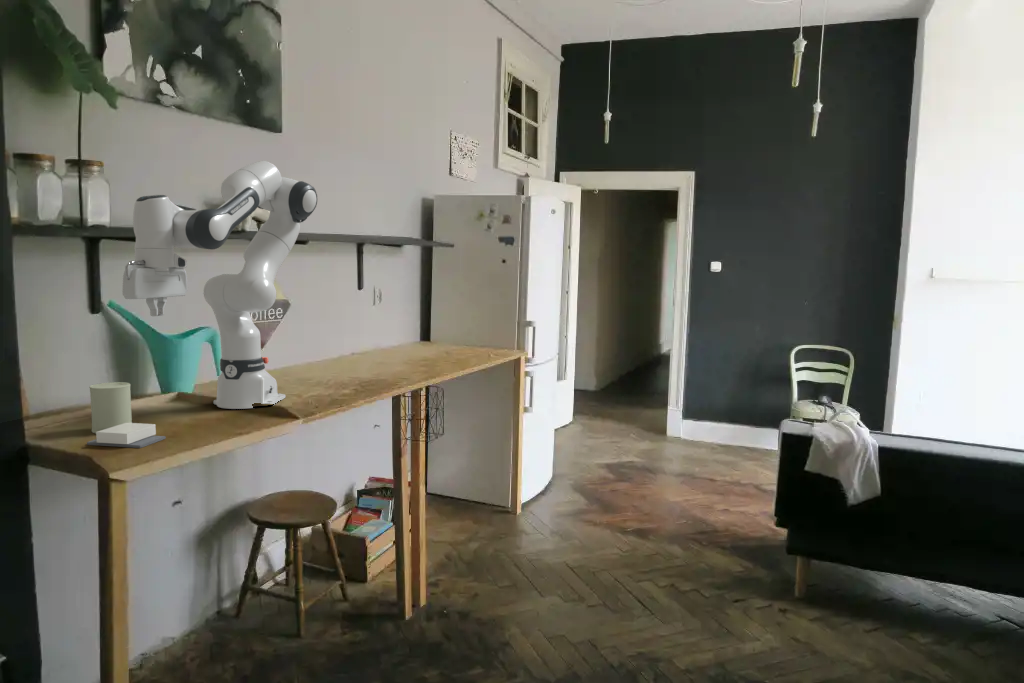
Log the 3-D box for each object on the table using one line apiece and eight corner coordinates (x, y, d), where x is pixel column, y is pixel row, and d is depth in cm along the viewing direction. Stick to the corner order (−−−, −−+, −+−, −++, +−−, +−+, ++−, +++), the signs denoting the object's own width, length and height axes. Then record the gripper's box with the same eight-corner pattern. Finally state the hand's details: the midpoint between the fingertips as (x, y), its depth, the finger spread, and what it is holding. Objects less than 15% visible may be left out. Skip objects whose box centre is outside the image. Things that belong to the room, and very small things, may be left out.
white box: (126, 422, 178) (96, 431, 168) (155, 424, 176) (126, 433, 167) (126, 433, 178) (96, 443, 168) (155, 435, 177) (127, 445, 167)
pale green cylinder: (138, 429, 185) (136, 383, 183) (99, 435, 178) (96, 387, 177) (124, 424, 191) (122, 379, 189) (86, 429, 184) (83, 383, 183)
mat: (114, 435, 178) (114, 433, 178) (165, 438, 176) (165, 436, 176) (86, 444, 169) (86, 442, 169) (140, 447, 167) (140, 445, 167)
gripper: (137, 260, 170) (140, 319, 171) (191, 260, 190) (193, 313, 191) (113, 260, 171) (116, 318, 172) (169, 260, 191) (171, 312, 192)
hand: (157, 315), depth 182 cm, fingers closed
